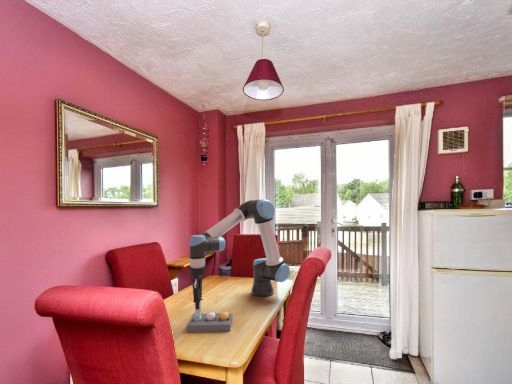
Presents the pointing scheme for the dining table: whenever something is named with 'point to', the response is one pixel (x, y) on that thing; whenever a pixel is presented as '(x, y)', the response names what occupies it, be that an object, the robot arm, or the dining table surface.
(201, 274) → the robot arm
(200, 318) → the button teal
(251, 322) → the dining table surface
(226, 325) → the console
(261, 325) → the dining table surface
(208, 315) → the button white
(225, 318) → the button ochre
